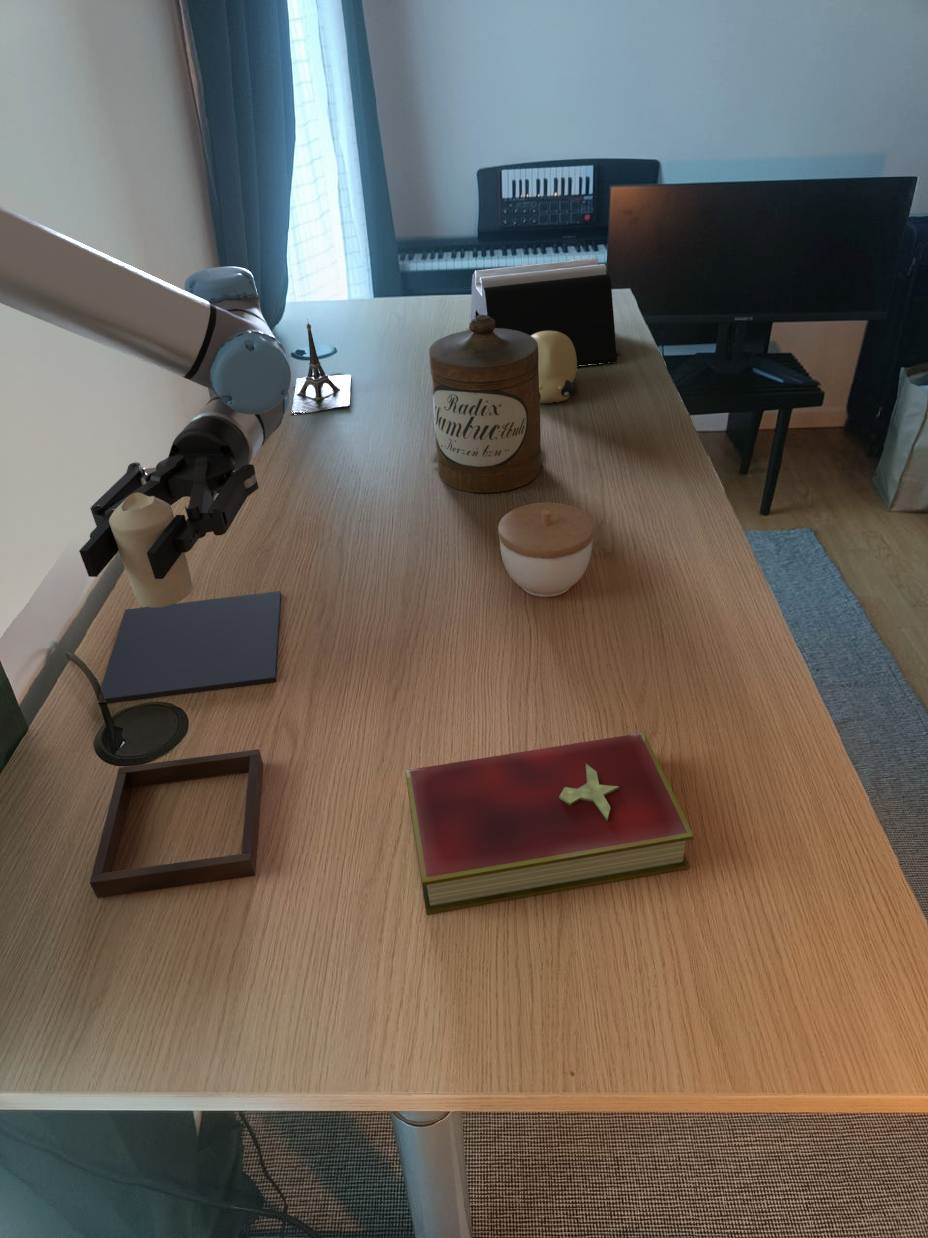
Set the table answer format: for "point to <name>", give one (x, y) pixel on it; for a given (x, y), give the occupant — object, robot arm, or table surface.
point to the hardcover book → (544, 822)
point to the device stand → (552, 303)
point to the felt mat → (194, 647)
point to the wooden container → (486, 407)
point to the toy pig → (555, 366)
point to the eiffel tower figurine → (320, 386)
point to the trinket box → (546, 546)
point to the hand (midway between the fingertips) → (121, 564)
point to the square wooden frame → (187, 871)
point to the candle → (134, 537)
